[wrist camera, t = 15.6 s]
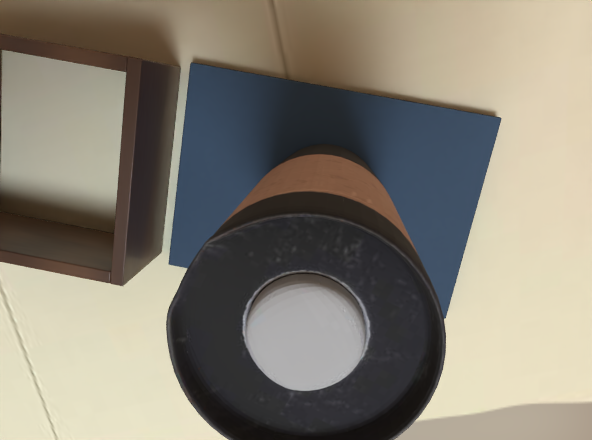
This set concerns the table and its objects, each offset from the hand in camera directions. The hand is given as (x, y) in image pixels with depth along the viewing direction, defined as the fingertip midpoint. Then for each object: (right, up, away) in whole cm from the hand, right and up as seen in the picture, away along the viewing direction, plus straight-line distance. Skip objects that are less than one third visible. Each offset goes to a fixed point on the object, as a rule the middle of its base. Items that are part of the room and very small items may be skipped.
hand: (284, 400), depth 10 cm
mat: (+2, +6, +23) cm, 24 cm away
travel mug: (+2, +5, +22) cm, 23 cm away
